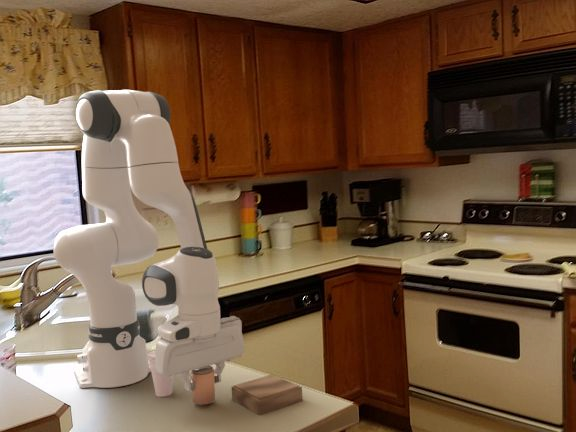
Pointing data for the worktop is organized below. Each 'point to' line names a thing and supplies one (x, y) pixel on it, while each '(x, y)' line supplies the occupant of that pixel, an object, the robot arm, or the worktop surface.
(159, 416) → the worktop surface
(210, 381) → the jar
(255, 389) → the plinth
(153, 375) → the smoothie
